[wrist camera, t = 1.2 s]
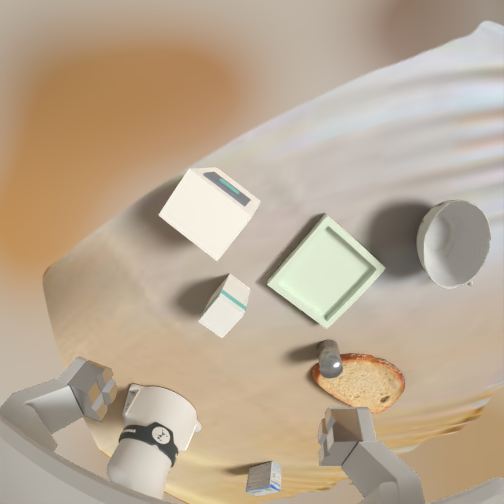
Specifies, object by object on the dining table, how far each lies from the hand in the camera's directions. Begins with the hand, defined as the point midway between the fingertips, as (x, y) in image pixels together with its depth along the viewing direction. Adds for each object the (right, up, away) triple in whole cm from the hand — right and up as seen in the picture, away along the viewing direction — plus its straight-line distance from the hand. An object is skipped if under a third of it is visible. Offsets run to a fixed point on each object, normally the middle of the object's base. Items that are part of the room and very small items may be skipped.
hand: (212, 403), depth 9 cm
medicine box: (+5, -52, +51) cm, 73 cm away
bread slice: (+23, -20, +39) cm, 49 cm away
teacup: (+31, +8, +29) cm, 43 cm away
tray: (+13, +2, +32) cm, 35 cm away
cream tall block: (-2, +13, +31) cm, 33 cm away
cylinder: (+14, -11, +37) cm, 41 cm away
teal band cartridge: (-2, -1, +35) cm, 35 cm away
